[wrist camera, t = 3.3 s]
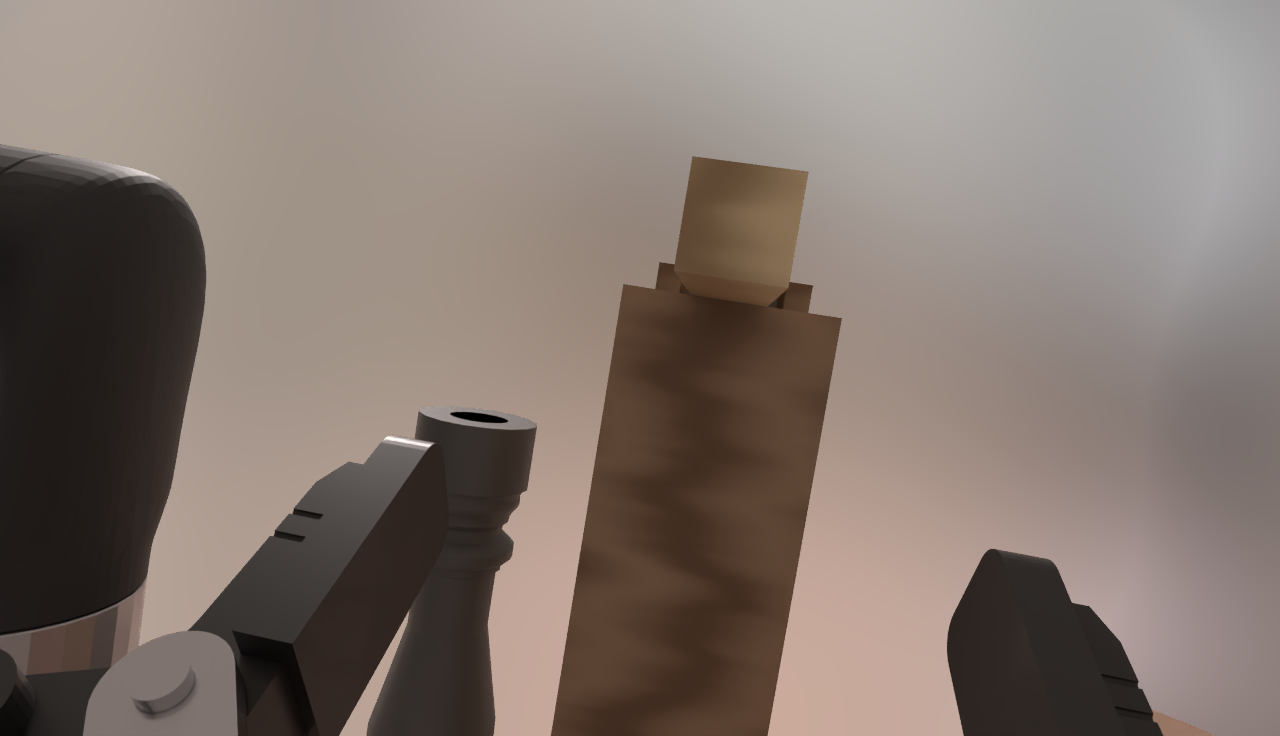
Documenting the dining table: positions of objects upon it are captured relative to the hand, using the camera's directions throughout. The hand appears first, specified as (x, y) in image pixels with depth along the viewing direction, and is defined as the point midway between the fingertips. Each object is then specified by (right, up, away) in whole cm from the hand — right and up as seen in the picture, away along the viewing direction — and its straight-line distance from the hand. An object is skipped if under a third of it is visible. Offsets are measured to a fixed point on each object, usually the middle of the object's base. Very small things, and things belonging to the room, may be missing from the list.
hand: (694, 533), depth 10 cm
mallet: (+3, +5, +16) cm, 17 cm away
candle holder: (-13, -25, +25) cm, 37 cm away
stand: (-2, -26, +21) cm, 34 cm away
